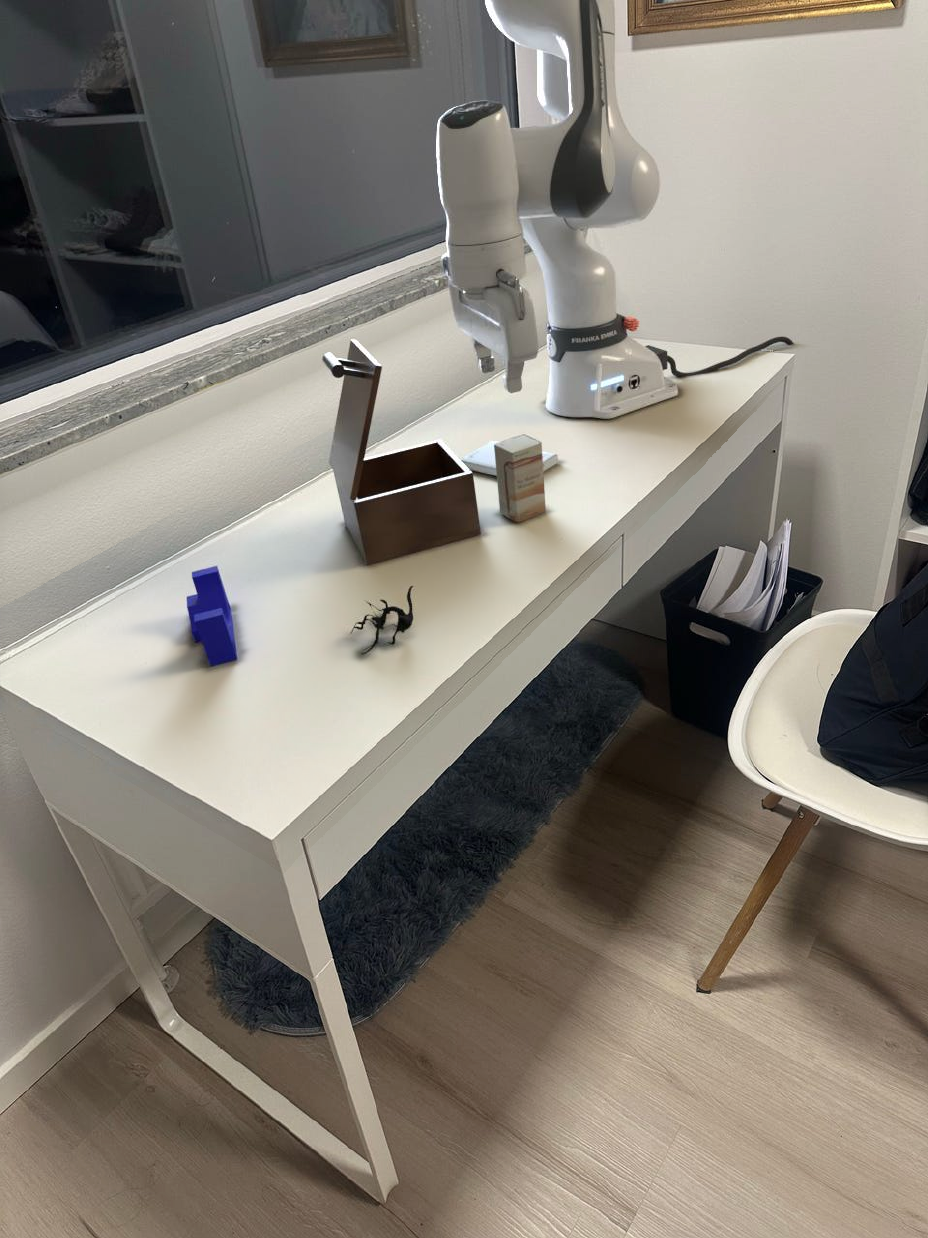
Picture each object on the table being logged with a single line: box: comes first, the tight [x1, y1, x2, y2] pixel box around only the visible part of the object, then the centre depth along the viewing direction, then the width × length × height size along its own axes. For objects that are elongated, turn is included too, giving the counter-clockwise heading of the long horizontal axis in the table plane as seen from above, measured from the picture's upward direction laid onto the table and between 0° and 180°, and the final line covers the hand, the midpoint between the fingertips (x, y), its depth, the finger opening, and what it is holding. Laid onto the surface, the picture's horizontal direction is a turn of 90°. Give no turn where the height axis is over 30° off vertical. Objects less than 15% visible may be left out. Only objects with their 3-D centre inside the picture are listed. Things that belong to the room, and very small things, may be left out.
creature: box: [349, 585, 414, 655], centre depth 98 cm, size 8×5×8 cm
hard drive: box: [460, 440, 559, 477], centre depth 134 cm, size 2×8×12 cm
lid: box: [321, 339, 383, 500], centre depth 110 cm, size 16×14×5 cm
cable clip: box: [186, 565, 238, 667], centre depth 102 cm, size 12×4×6 cm, turn 16°
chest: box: [332, 439, 482, 566], centre depth 118 cm, size 16×14×9 cm
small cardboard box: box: [494, 433, 547, 523], centre depth 118 cm, size 5×4×10 cm
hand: (499, 380), depth 110 cm, fingers open, 8 cm apart
